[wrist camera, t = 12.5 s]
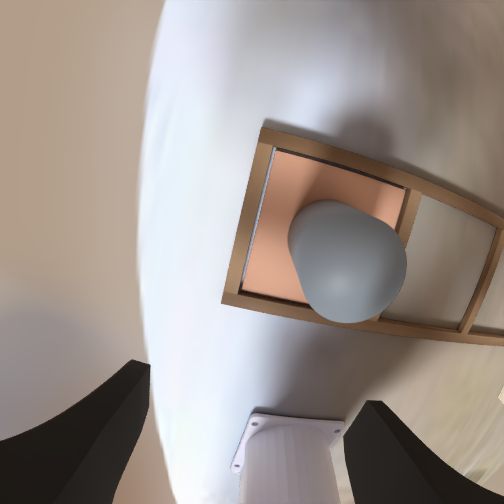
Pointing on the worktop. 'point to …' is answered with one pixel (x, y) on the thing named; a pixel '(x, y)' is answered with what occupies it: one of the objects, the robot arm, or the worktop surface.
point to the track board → (351, 193)
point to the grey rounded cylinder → (346, 260)
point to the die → (501, 396)
